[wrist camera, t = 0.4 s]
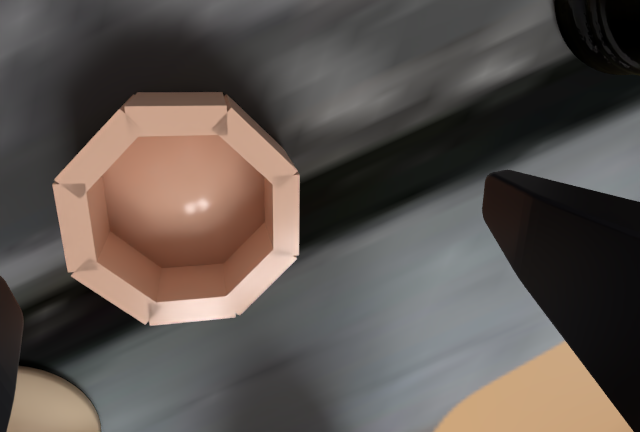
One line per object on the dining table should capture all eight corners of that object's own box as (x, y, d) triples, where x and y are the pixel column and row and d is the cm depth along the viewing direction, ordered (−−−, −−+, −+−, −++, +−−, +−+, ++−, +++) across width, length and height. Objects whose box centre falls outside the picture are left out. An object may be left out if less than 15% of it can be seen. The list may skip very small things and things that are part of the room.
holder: (284, 270, 26) (298, 311, 22) (97, 286, 24) (78, 332, 20) (284, 91, 23) (300, 104, 19) (67, 92, 21) (38, 107, 17)
